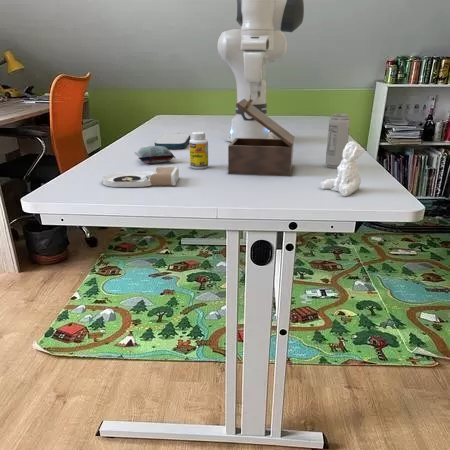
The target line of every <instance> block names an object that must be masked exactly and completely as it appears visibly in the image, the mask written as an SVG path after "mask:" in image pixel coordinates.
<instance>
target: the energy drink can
mask: <svg viewBox="0 0 450 450" xmlns="http://www.w3.org/2000/svg"><path fill="white" fill-rule="evenodd" d="M349 116H350V114H348V113H331V117H330V118H329V120H328V129H327V130H328V131H327V142H326V152H325V162H324V163H325V164H326V167H327V168H331V169H337V167H338V166H339V165H340V163H341V161H342V160H343V156H342V154H343V149H345V146H346V144H347V143H349V136H350V128H351V127H350V126H351V120H350V117H349Z"/></svg>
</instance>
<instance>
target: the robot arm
mask: <svg viewBox="0 0 450 450" xmlns="http://www.w3.org/2000/svg"><path fill="white" fill-rule="evenodd" d="M305 8H306V7H305V1H304V0H236V18H235V19H236V20H235V21H236V22H237V23H238V25H239V26H240V27H241V28H233V29H228V30H225V31H222V33H221V34H220V35H219V37H218V40H217V44H216V47H217V53H218V56H219V58H220V59H221V60H222V61H223V62H224V63H225V64H226V65H227V66H228V67H229V68H230V70H231V72H232V73H233V76H234V79H235V86H236V103H235V108H234V109H235V116H234V117H233V118H232V119H231V129H230V137H229V136H228V137H227V138H226V142H229V143H231V142H232V141H233V140H234V139H235V138H259V139H274V137H273V135H271V132H270V131H269V130H268V129H266V128H265V127H264V126H262V125H261V124H260V123H258V122H257V121H256V120H254V119H253V118H252V117H250V116H249V115H248V114H246V113H245V112H244V111H242V110H241V109H240V108H238V107H237V106H236V105H237V103H238V102H240V101H242V100H243V99H245V100H247V101H249V100H250V94H251V100H253V101H252V103H251V104H252V105H253V106H255V107H256V108H257V109H259V110H260V111H261V112H263V113H264V114H265V115H267V112H268V104H267V82H266V79H267V78H266V77H267V64H270V63H274V62H278V61H281V60H283V58H284V57H285V55H286V53H287V51H288V40H287V37H286V35H285V33H293V32H294V31H296V30H297V29H298V28H299V27H300V26H301V25H302V24H303V22H304V17H305ZM258 94H259V95H258Z"/></svg>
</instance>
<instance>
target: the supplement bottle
mask: <svg viewBox="0 0 450 450" xmlns="http://www.w3.org/2000/svg"><path fill="white" fill-rule="evenodd" d="M188 143H189V166H190V168H191V169H194V170H204V169H207V168H208V167H209V140H208V139H207V138H206V132H204V131H192V132H191V138H190V140H189V142H188Z"/></svg>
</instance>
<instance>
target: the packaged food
mask: <svg viewBox="0 0 450 450" xmlns="http://www.w3.org/2000/svg"><path fill="white" fill-rule="evenodd" d="M133 153H134V155H135V156H137V157H138V158H137V160H140V161H141V162H142V163H144V164H159V163H166V162H168V161H171V160H173V159H176V155H175V154H173V153H172V151H171V150H169V148H166V147H163V146H155V145H149V146H144V147H143V146H142V147H140V148H139V150H137V151H133Z"/></svg>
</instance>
